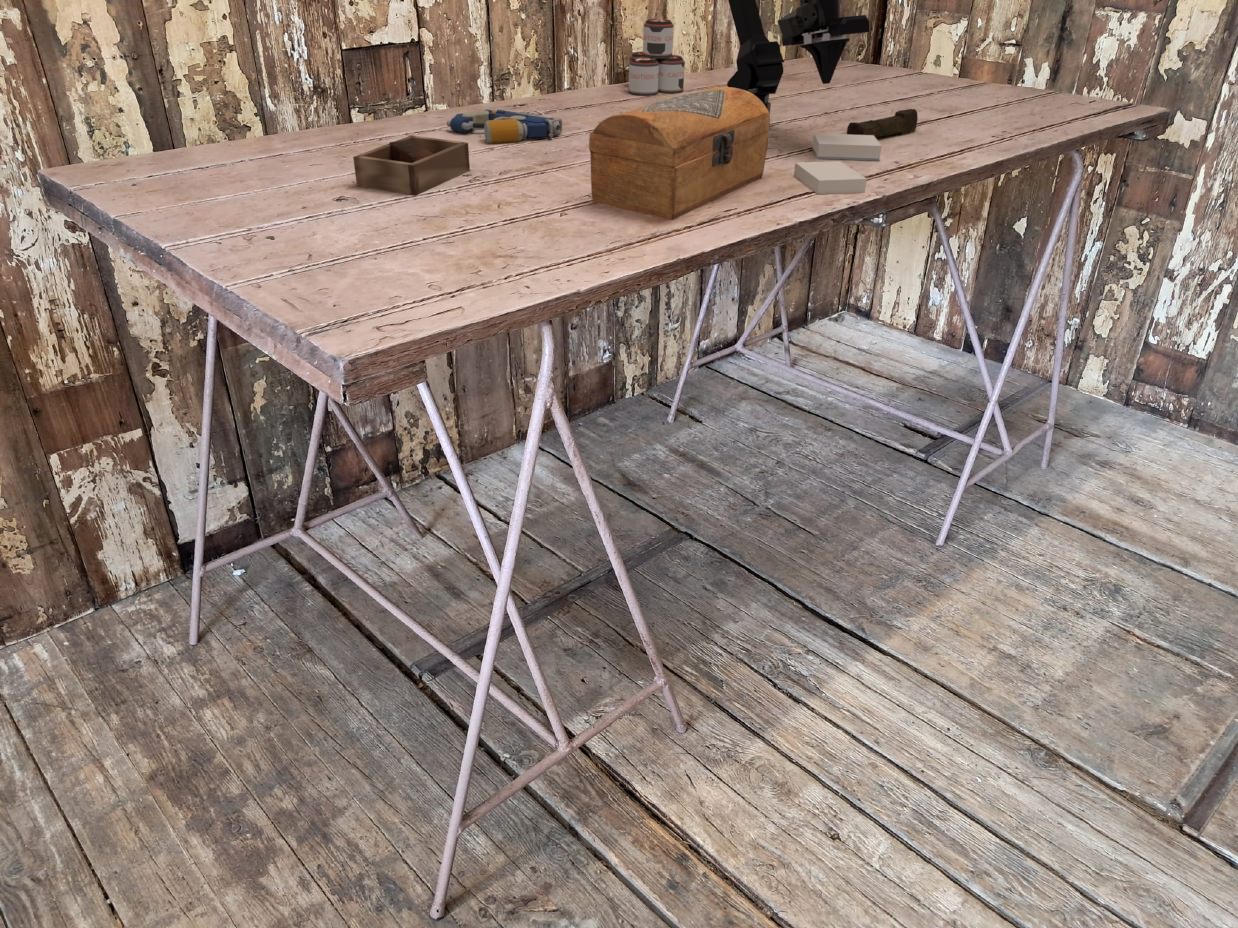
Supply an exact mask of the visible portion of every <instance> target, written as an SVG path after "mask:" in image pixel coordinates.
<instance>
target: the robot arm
mask: <svg viewBox="0 0 1238 928" xmlns="http://www.w3.org/2000/svg"><path fill="white" fill-rule="evenodd" d="M727 1H728V4H729V7H730V8H729V9H730V13H731V16H732V20H733V23H734V27H735V31H736V34H737V40H738V42H739V47H738V48H739V49H738V53H737V57H736V60H735V61H736V67H737V70H736V72H735V73H734V74H733V75H732V76H731V77H730V78H729V80H728V81H727V83H726V85H727V86H726V87H733V88H738V89H742V90H745V91H748V92H750V93H752V94H754V95H755V96H757V97H758V98H759V99H760V100H761V101H762V103H763V104H764V105H765V107H766V108H767V110H768V112H769V114H771V108H772V107H771V106H772V103H771V102H769V99H770V95H774V94H776V93H777V91H778V87H779V85H780V83H781V80H782V77H783V75H784V63H785V60H784V58H783V55H782V52H781V45H780V43H779V42H778V41H776V40H775V41H770V40H769V39H768V38H767V36H766V34H765V31H764V27H763V23H762V19H761V16H760V12H759V8H758V4H757V1H756V0H727ZM799 1H800V2H799V5H800V6H798V7H796V9H795V10H793V11H791V12H790V13H787V14H786V15H784V16H782V17H781V18H779V19H777V21H776V22H777V24H778V27H779V29H780V33H781V40H782V41H781V43H782V47H789V46H797V45H799V46H800V47H801V48H802V49H805V50H806V51H807V52H808V53H809V54H811V57H812V59H813V61H814V63H815V66H816V69H817V72H818V75H819V78H820V80H821V83H822V84H823V85H828V84H830V83H831V81H832V79H833V76H834V73H835V71H836V69H837V66H838V64H839V60H840V58H841V56H842V54H843V52H844V50H845V47H846V45H847V43H848V42H850V39H851V38H850V37H849V38H847V36H848V35H854V34H855V35H857V34H858V35H861V34H867V33H871V20H870V18H869V17H868V16H867V15H866V14H863V15H862V14H860V15H853V16H852V15H851V16H850V15H849V16H841V0H799Z"/></svg>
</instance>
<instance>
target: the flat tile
mask: <svg viewBox="0 0 1238 928" xmlns="http://www.w3.org/2000/svg"><path fill="white" fill-rule="evenodd" d="M811 145H812V146H811V148H812V151H813V153H814V155H815V157H816V159H819V160H840V159H843V160H844V161H847V160H848V161H871V162H872V161H873V162H877V161H878V162H879V161H880V158H881V152H882V148H883V147H882V144H881V143H880V142H879V140H878V138H877V137H876V138H875V136H874V135H848V134H847V133H843V134H842V133H841V134H840V133H815V132H814V133H813V137H812V144H811ZM845 159H846V160H845Z"/></svg>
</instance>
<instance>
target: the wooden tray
mask: <svg viewBox="0 0 1238 928" xmlns="http://www.w3.org/2000/svg"><path fill="white" fill-rule="evenodd" d="M402 140H411V141H413V142H415V143H416V144H417V145H419V146H421V147H423V148H425V149H426V150H428V151H430V152H432V153H433V155H430V156H428V157H425V158H423V159H421V160H418V161H416V162H413V163H407V162H400V161H393V160H392V155H391V145H389V143H387V144H385V145H381V146H379V147H376V148H374V149H371V150H368V151H365V152H362V153H360V154H357V155H353V157H352V159H353V165H354V174H355V182H356V187H362V188H367V189H374V190H375V189H376V190H381V191H387V192H393V193H394V192H395V193H400V194H407V195H412V196H417V195H420V194H422V193H424V192H427V191H428V190H431V189H433V188H435V187H437V186H439V185H441V184H444V183H445V182H448V181H450V180H452V179H454V178H457V177H458V176H462V175H463V174H465V173H467V172H470V171H471V169H470V168H471V167H470V166H471V165H470V153H469V152H470V151H469V149H470V148H469V142H466V141H457V140H450V139H442V138H436V137H427V136H420V135H419V136H418V135H413V134H411V135H409V136H406V137H403V138H400V139H397V140H396V141H402Z"/></svg>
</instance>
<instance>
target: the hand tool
mask: <svg viewBox="0 0 1238 928" xmlns="http://www.w3.org/2000/svg"><path fill="white" fill-rule="evenodd" d="M917 125H918V111H917V109H915V108H907V109H901V110H898V111H895V113H894V115H893V116H889V117H888V116H887V117H884V118H879V119H878V118H877V119H875V120H874V119H869V120H866V121H860V122H854V121H853V122H849V123H848V126H847V129H846V134H848V135H874V136H875V138H876V139H877V138H880V137H885V136H890V135H898V136H905V135H909V134H911V133H913V132H915V131H916V129H917Z"/></svg>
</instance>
